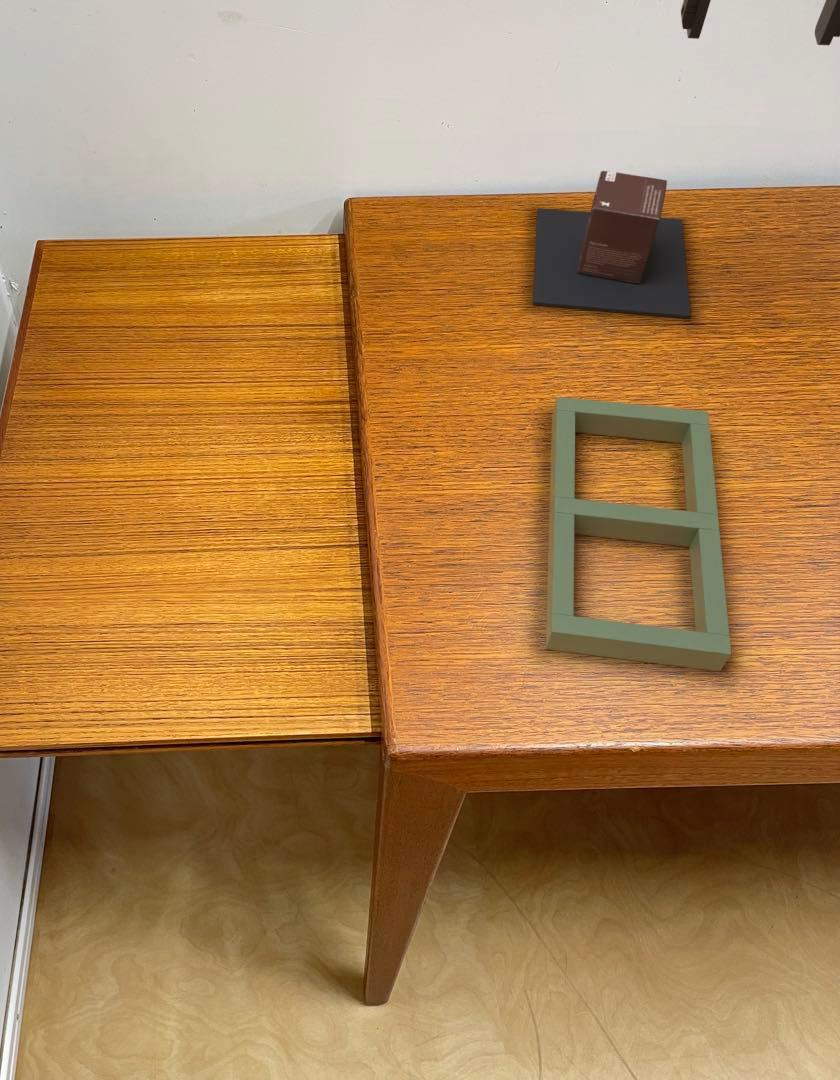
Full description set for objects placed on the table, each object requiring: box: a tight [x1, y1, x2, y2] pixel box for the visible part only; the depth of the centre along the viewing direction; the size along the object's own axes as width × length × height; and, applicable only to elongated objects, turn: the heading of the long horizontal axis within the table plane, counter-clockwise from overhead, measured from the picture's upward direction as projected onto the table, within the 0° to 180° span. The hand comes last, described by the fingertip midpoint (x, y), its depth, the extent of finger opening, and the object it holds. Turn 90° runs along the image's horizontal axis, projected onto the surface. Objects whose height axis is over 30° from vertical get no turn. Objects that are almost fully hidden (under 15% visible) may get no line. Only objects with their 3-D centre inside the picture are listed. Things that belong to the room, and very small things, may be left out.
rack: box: [545, 396, 732, 672], centre depth 75 cm, size 22×12×2 cm, turn 170°
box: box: [577, 170, 668, 283], centre depth 91 cm, size 6×6×7 cm
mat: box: [532, 208, 691, 320], centre depth 94 cm, size 14×14×1 cm
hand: (755, 36), depth 68 cm, fingers open, 8 cm apart
